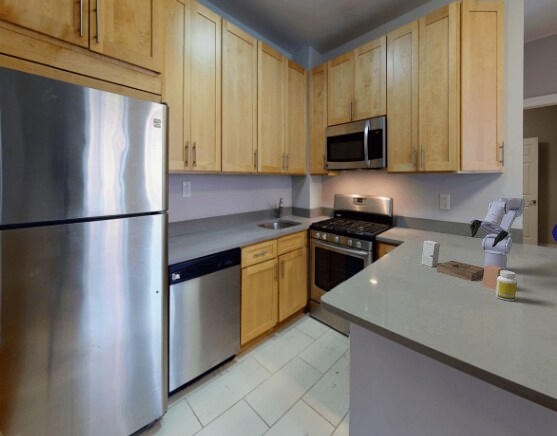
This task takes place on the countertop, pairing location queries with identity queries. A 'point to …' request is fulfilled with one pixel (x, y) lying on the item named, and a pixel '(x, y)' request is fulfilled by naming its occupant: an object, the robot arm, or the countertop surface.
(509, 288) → the supplement bottle
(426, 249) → the skincare box
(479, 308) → the countertop surface
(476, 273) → the walnut socket block
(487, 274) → the terracotta peg
